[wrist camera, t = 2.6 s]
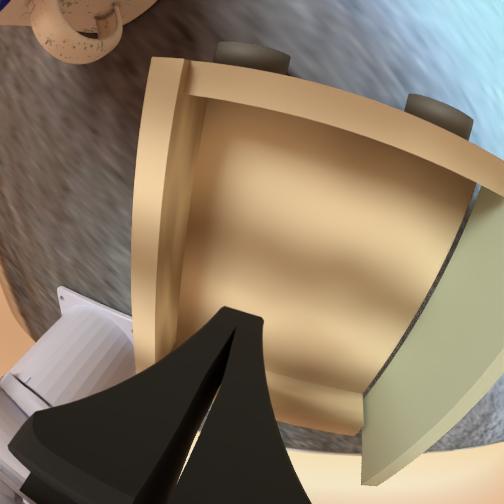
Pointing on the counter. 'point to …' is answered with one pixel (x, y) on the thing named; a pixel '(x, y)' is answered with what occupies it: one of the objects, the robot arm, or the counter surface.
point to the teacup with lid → (74, 24)
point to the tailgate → (442, 352)
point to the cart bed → (293, 220)
